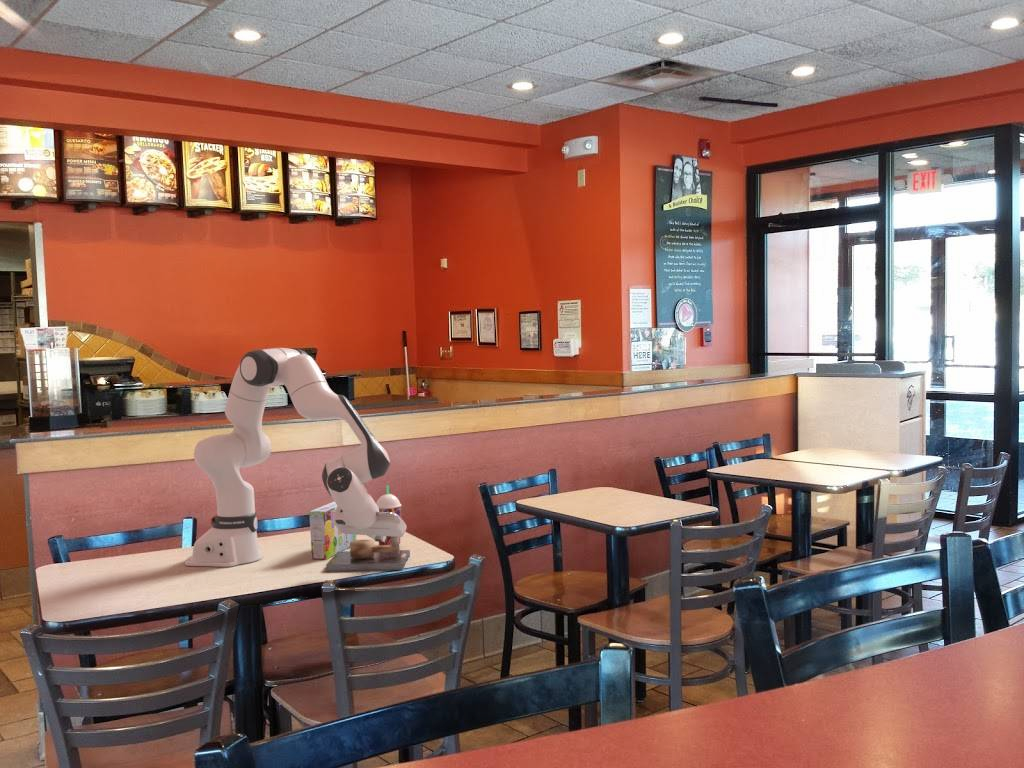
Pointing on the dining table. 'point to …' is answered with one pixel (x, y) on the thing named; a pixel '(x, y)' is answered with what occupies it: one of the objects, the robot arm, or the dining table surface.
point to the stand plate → (368, 562)
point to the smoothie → (389, 509)
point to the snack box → (327, 533)
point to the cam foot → (372, 548)
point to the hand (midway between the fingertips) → (380, 539)
